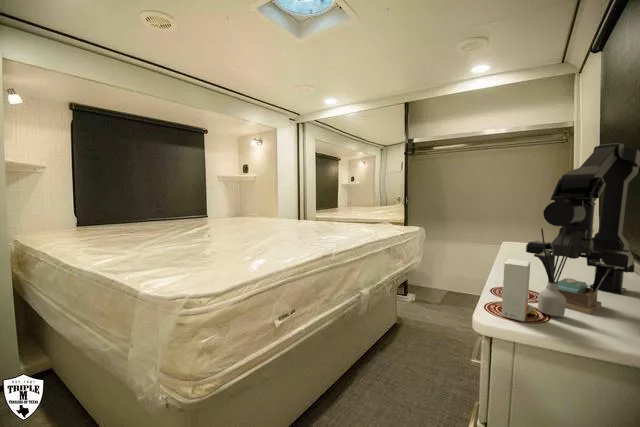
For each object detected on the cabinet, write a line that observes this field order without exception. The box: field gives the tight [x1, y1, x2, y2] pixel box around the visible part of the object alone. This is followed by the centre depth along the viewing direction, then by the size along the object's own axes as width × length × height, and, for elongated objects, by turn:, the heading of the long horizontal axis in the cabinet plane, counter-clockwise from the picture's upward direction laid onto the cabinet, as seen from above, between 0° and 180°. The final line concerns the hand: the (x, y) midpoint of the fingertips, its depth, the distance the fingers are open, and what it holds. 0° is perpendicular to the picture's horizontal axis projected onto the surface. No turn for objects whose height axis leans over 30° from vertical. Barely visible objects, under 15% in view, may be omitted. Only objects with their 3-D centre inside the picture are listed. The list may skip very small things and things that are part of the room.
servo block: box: [558, 277, 589, 294], centre depth 69 cm, size 9×4×5 cm, turn 123°
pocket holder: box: [545, 282, 602, 315], centre depth 69 cm, size 9×9×4 cm
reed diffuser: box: [527, 227, 578, 317], centre depth 61 cm, size 10×7×20 cm
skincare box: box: [501, 258, 531, 322], centre depth 61 cm, size 6×4×12 cm
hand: (571, 286), depth 69 cm, fingers open, 8 cm apart
